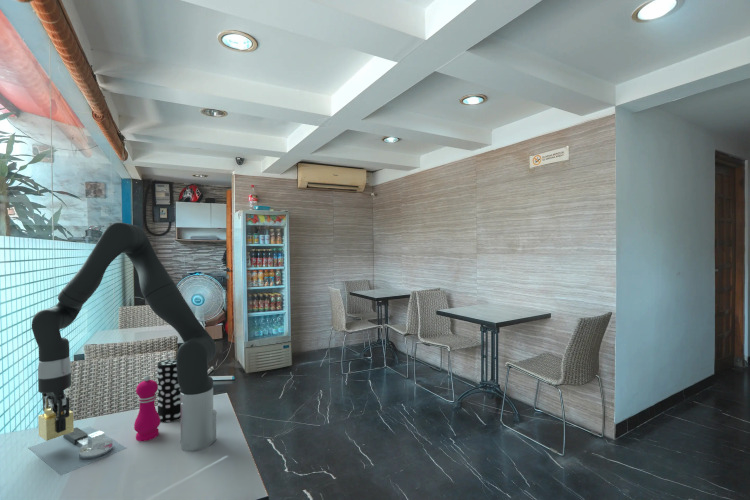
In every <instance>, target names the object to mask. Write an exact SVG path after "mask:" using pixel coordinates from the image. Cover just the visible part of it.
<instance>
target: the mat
mask: <svg viewBox="0 0 750 500" xmlns="http://www.w3.org/2000/svg"><path fill="white" fill-rule="evenodd" d="M80 430H82V431H84V432H85V433H87V434H91V433H94V432H97V431H98V430H97V429H95V428H94V427H92V426H87V427H85V428H82V429H80ZM105 439H111V440H112V441H113V449H112V451H111V452H109V453H108V454H106V455H104V456H102V457H99V458H96V459H91V460H82V459H80V458H79V449H80V448H81V447H80V446H78V445H74V444H72V443H71V442H69V441H68V440H66V439H65V438H63V435H62V436H60V437H57V438H54V439H51V440H48V441H46V440H45V441H43V442H40V443H37V444H35V445H32V446H29V447H28V449H29V450H30V452H32V453H33V454H35V455H36V457H38V458H39V459H41V460H42V461H43V462H44V463H45V464H47V466H49V467H50V468H51V469H53V470H54V471H55V472H56V473H58V474H59V475H60V476H63V475H65V474H67V473H70V472H72V471H75V470H78V469H80V468H82V467H84V466H87V465H90V464H92V463H94V462H97V461H99V460H102V459H104V458H106V457H108V456H110V455H113V454H116V453H117V452H121V451H123V450H125V449H127V447H126V446H124V445H123V444H121V443H119V442H118V441H116V440H114V439H112V438H111V437H109V436H107V435H106V434H105Z"/></svg>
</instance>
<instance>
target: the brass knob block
mask: <svg viewBox="0 0 750 500" xmlns="http://www.w3.org/2000/svg"><path fill="white" fill-rule="evenodd" d="M56 409H58V408H56ZM62 414H63V412H61V415H62ZM37 419H38V423H37V424H38V436H39V437H40V438H42V439H43V440H44V441H45V442H46V441H49V440H52V439H55V438H58V437H61V436H63V435H65V434H68V433H71V432H74V428H75V427H74V426H75V424H74V411H72V410H71V409H69V417H66V430H65V431H62V432H59V433H57V432H56V423H55V416H54V414H53V413H52V412H51V408H50V406H49V407H47V408H45V409H44V411H43V413H42V414H39V415H38V417H37Z"/></svg>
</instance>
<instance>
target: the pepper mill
mask: <svg viewBox="0 0 750 500" xmlns="http://www.w3.org/2000/svg"><path fill="white" fill-rule="evenodd" d="M135 392H136V395H137V396H138V398H137V399H138V400H137V402H138V403H139V410H138V413H137V415H136V418H135V420H134V424H133V426H134V427H133V428H134V431H135V432H136V435H135V440H136V441H138V442H148V441H150V440H154V439H156V438H157V437H158V436H159V434H160V433H159V432H160V431H159V428H158V427H160V426H161V425H160V424H161V422H160V417H159V415H158V410H157V409H156V404H155V403H156V399H157V394H156V392H158V382H156V381H155V379H154V380H153V379H151V377H150V375H145V376H144V377H143V380H142V381H140V382H139V383H138V385H136V388H135Z"/></svg>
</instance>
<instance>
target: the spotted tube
mask: <svg viewBox="0 0 750 500" xmlns="http://www.w3.org/2000/svg"><path fill="white" fill-rule="evenodd" d="M156 367H157V372H156V373H157V376H156V378H157V385H158V389H157V413H158V415H159V417H160V423H171V422H176V421H177V420H181V405H180V386H179V384H178V380H177V365H176V358H170V359H165V360H162V361H159V362H157V366H156Z"/></svg>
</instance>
